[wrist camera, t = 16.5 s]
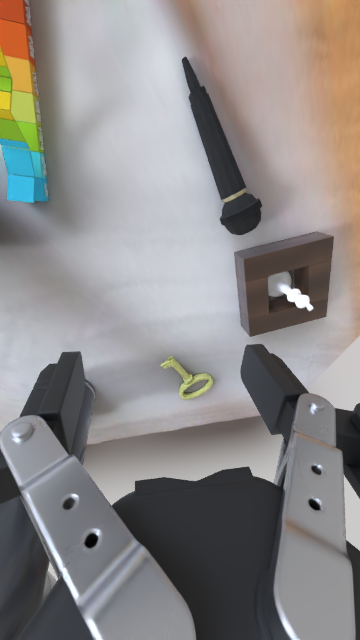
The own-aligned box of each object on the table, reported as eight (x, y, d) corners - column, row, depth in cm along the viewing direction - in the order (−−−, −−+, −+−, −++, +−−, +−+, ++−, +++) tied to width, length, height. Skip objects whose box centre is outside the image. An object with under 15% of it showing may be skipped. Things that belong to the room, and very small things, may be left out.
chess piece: (269, 301, 45) (302, 330, 36) (257, 280, 43) (288, 306, 34) (294, 284, 44) (333, 310, 36) (283, 262, 42) (322, 283, 33)
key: (168, 350, 47) (170, 357, 45) (216, 377, 52) (219, 385, 50) (145, 376, 49) (145, 384, 47) (193, 400, 54) (195, 408, 52)
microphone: (168, 82, 31) (229, 236, 39) (156, 66, 27) (228, 245, 34) (209, 51, 29) (265, 219, 37) (204, 28, 25) (270, 227, 32)
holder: (312, 306, 47) (326, 316, 44) (241, 325, 47) (249, 337, 43) (316, 231, 40) (334, 236, 37) (233, 252, 40) (243, 259, 36)
